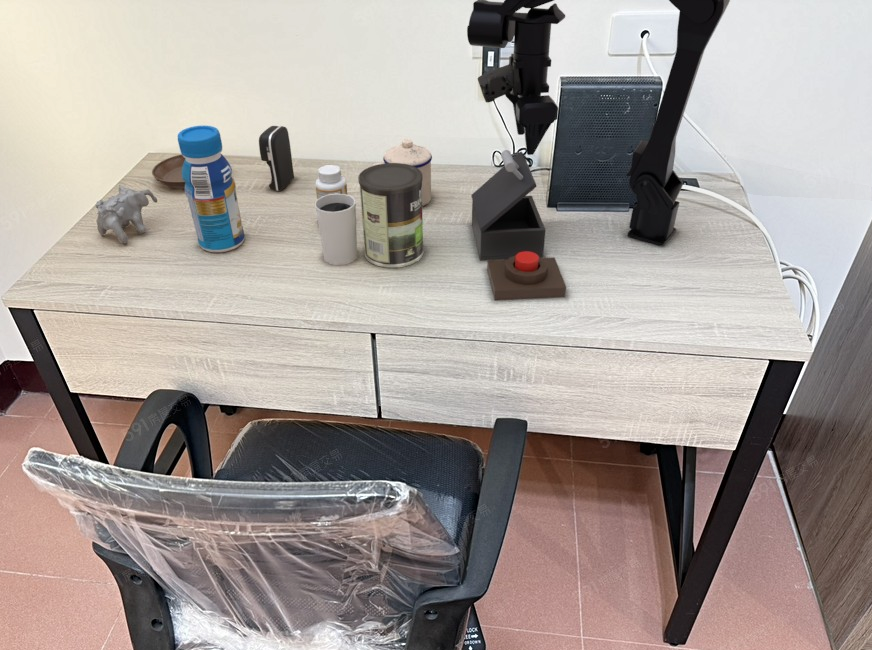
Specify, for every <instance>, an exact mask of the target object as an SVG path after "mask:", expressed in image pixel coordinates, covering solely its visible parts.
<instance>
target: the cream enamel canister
mask: <svg viewBox="0 0 872 650" xmlns="http://www.w3.org/2000/svg"><path fill="white" fill-rule="evenodd" d="M383 154H384V155H383V157H382V159H383V160H382V161H381V162H375V163H373V164H372V165H371V166H374V165H379V164H385V163H401V164H407V165H411V166H414V167H416V168H418V169H419V170H420V171H421V172H422V175H423V179H422V207H424V206H426V205H427V204H429V203H430V202H431V199H432V160H433V156H432V152H431V151H430V149H428V148H426V147H424V146H421V145H417V144H414V142H413V140H411V139H403V140H402V141H401V144H399V145H397V146H393V147H391V148H389V149H387V150H386V151H385V152H384V153H383Z"/></svg>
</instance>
